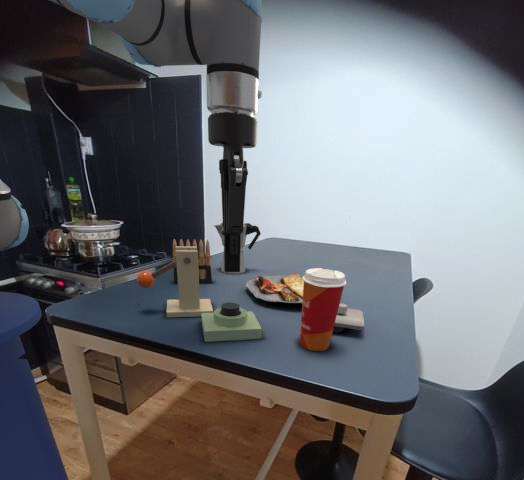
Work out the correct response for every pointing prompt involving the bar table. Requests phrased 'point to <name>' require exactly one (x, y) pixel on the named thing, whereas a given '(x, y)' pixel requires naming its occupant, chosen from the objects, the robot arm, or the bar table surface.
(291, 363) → the bar table surface
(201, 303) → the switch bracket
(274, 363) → the bar table surface
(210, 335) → the button block
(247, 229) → the coffee maker
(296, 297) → the food plate
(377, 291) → the bar table surface
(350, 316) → the light switch
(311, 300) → the paper cup
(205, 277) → the ammunition clip
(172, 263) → the switch lever
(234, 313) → the button
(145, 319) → the bar table surface
